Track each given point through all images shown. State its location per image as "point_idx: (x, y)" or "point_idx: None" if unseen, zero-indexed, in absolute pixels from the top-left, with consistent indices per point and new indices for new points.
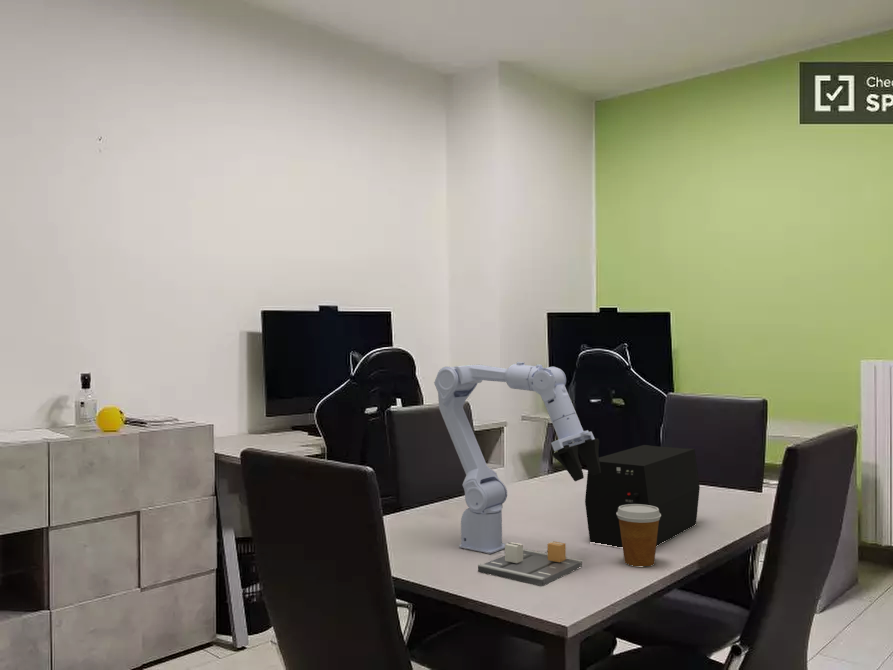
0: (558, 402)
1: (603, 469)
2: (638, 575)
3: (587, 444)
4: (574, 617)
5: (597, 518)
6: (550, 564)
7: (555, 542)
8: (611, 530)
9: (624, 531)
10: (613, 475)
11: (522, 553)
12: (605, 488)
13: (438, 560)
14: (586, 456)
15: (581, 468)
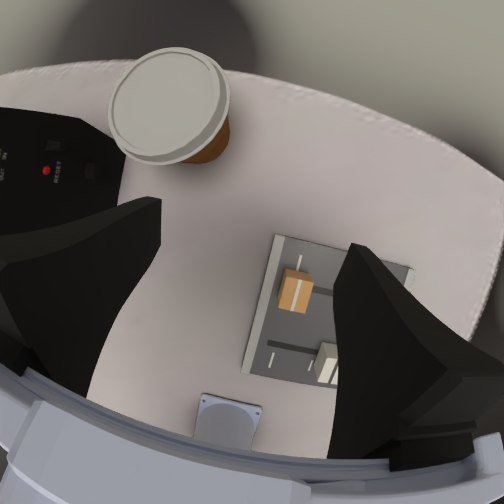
0: None
1: None
2: (282, 117)
3: (42, 337)
4: (494, 183)
5: None
6: (322, 288)
7: (287, 300)
8: None
9: (216, 139)
10: (4, 223)
11: (326, 349)
12: None
13: (321, 448)
14: (101, 310)
15: (369, 266)
